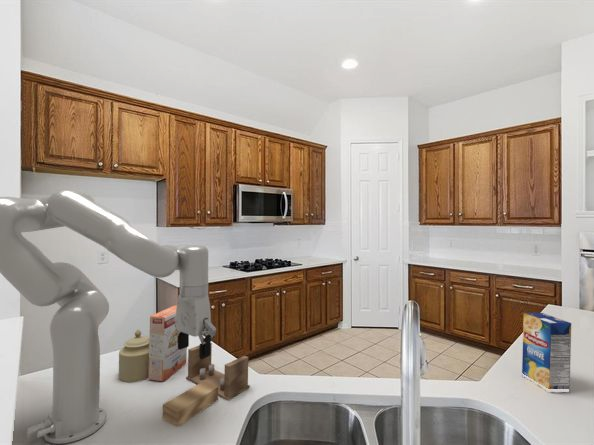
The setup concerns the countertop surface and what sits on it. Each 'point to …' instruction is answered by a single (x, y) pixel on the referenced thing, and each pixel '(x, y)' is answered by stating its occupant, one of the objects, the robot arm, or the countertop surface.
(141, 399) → the countertop surface
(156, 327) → the cracker box
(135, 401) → the countertop surface
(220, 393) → the rack
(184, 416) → the light wood rectangular block
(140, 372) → the sugar bowl
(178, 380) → the countertop surface
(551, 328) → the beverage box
